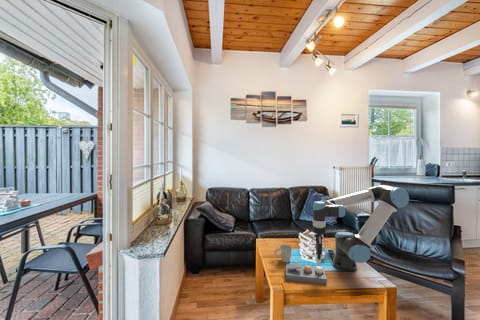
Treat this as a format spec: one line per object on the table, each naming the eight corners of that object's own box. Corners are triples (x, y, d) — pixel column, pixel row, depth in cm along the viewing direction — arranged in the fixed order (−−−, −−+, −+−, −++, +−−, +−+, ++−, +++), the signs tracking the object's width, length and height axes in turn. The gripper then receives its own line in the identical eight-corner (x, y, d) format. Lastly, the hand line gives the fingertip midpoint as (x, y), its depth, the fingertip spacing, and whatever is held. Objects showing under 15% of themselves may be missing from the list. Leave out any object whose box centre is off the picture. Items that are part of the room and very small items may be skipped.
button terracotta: (310, 270, 147) (310, 265, 146) (311, 273, 142) (311, 268, 142) (304, 269, 147) (304, 264, 147) (304, 273, 143) (304, 268, 143)
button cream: (322, 271, 145) (322, 266, 145) (323, 274, 141) (323, 269, 141) (315, 270, 146) (315, 265, 146) (316, 274, 142) (316, 269, 142)
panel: (323, 272, 150) (323, 265, 149) (326, 284, 136) (326, 276, 136) (286, 268, 155) (286, 262, 155) (285, 279, 141) (285, 272, 141)
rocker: (301, 264, 148) (300, 262, 148) (301, 268, 143) (300, 266, 143) (288, 266, 150) (288, 264, 150) (288, 269, 145) (288, 268, 145)
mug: (291, 263, 162) (291, 249, 161) (274, 262, 164) (274, 248, 164) (291, 258, 170) (291, 245, 170) (274, 257, 172) (274, 243, 172)
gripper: (311, 222, 150) (311, 258, 150) (313, 229, 137) (313, 267, 138) (323, 223, 148) (323, 259, 149) (327, 230, 136) (326, 269, 136)
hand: (318, 263), depth 143 cm, fingers closed
